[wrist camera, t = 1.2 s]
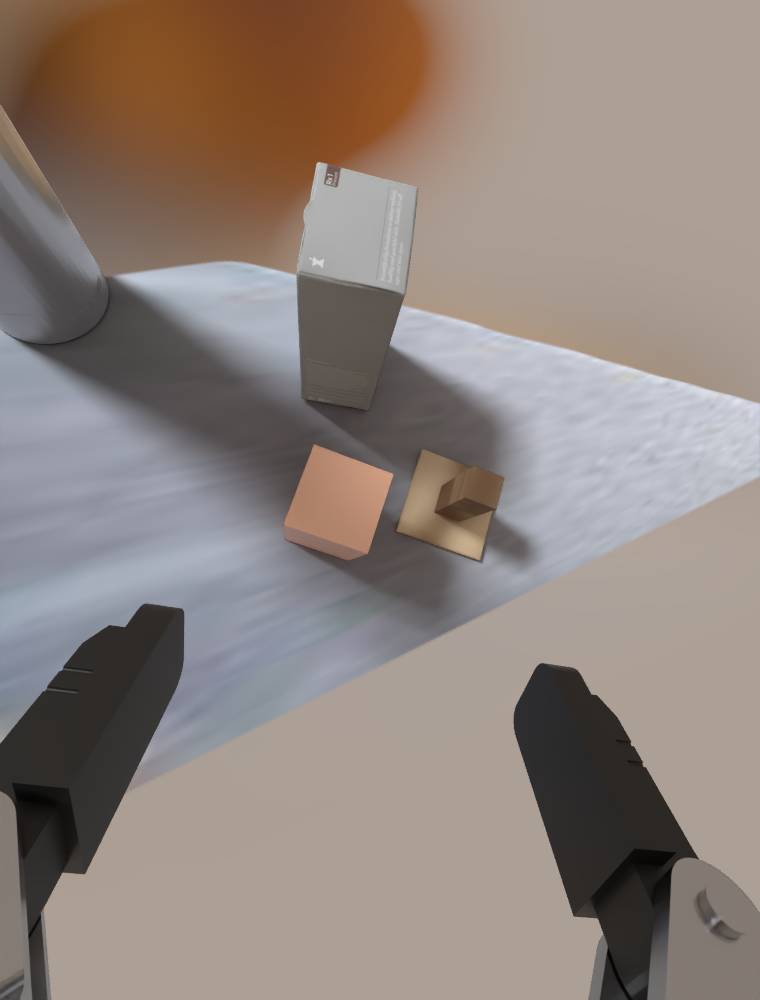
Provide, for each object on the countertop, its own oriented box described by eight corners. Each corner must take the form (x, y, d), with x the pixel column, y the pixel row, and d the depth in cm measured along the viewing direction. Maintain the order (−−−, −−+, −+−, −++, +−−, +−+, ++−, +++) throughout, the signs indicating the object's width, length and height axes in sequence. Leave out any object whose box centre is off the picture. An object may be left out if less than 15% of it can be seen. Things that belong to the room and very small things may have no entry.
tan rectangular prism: (285, 539, 35) (283, 524, 26) (308, 478, 37) (313, 444, 28) (348, 560, 36) (367, 553, 27) (368, 500, 38) (393, 474, 28)
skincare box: (369, 413, 39) (419, 306, 24) (290, 398, 38) (291, 275, 23) (379, 332, 41) (432, 184, 26) (305, 315, 40) (314, 149, 24)
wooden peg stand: (395, 531, 38) (421, 519, 30) (421, 450, 39) (450, 421, 32) (477, 560, 39) (520, 555, 31) (498, 480, 41) (542, 458, 33)
